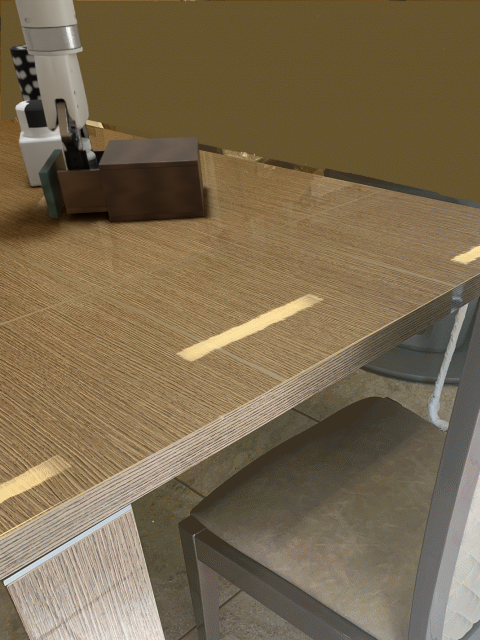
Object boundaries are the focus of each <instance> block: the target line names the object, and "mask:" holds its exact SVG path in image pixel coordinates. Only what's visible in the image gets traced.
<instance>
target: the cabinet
mask: <svg viewBox="0 0 480 640" xmlns="http://www.w3.org/2000/svg"><path fill="white" fill-rule="evenodd" d="M199 145H200V144H199V137H198V136H179V137H155V138H154V137H153V138H132V139H131V138H130V139H109V140H108V142H107V144H106V146H105V151H104V153H103V156H102V158H101V160H100V163H99V165H98V166H99V170H100V175H101V180H102V185H103V190H104V195H105V199H106V204H107V209H108V211H107V213H108V219H109V222H112V223H115V222H131V221H148V220H150V221H151V220H167V219H183V218H186V219H187V218H200V217H201V218H203V217H205V204H204V203H205V197H204V196H205V195H204V192H205V191H204V181H203V170H202V162H201V161H202V160H201V154H200V146H199Z"/></svg>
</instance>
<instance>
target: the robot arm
mask: <svg viewBox="0 0 480 640" xmlns="http://www.w3.org/2000/svg"><path fill="white" fill-rule="evenodd" d="M14 2H15V6H16V10H17V13H18V14H17V15H18V19H19V22H20V26H21V30H22V34H23V39H24V42H25V45H26V46H27V50H28V54H30V55H34V59H35V67H36V73H37V79H38V84H39V89H40V94H41V99H42V104H43V108H44V113H45V118H46V123H47V127H48V129H49V130H50V131H55V130H56V128H57V127H58V126H59V131H60V136H61V140H62V145H63V150H64V155H65V159H66V164H67V168H68V170H82V169H90V167H89V162H88V158H87V153H86V150H83V144H82V138H88V139H89V140H90V143H91V146H92V147H91V148H92V149H91V151H92V152H93V150H94V149H93V144H92V141H91V139H90V138H91V137H90V133H89V129H88V125H87V121H88V119H89V118H90V112H89V104H88V100H87V94H86V91H85V90H86V89H85V84H84V81H83V76H82V72H81V68H80V63H79V60H78V55H77V54H78V53H82V52H83V51H84V49H83V45H82V40H81V34H80V28H79V24H78V20H77V19H78V18H77V15H76V10H75V6H74V0H14ZM72 126H73V127H72ZM76 138H77V140H76Z"/></svg>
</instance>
